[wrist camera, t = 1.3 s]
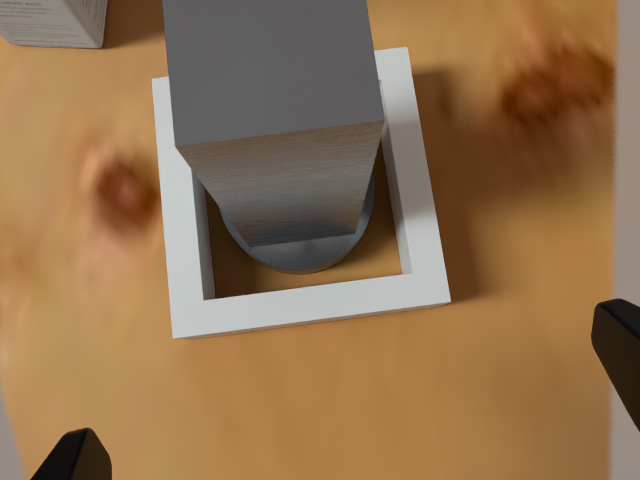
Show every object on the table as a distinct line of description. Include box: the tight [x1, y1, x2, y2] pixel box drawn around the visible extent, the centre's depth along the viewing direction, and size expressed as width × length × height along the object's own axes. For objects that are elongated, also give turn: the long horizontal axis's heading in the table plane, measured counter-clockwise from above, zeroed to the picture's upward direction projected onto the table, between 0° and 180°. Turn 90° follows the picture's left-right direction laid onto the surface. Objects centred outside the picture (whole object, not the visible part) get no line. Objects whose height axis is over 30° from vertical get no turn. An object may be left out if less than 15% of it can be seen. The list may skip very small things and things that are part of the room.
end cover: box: [162, 0, 385, 275], centre depth 18 cm, size 6×6×13 cm
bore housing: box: [152, 47, 451, 340], centre depth 23 cm, size 10×10×2 cm
